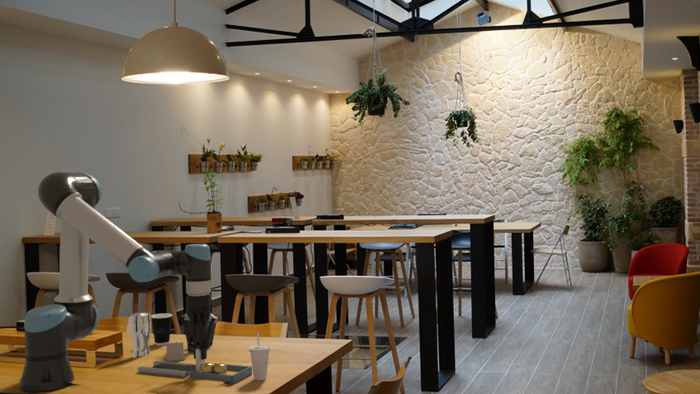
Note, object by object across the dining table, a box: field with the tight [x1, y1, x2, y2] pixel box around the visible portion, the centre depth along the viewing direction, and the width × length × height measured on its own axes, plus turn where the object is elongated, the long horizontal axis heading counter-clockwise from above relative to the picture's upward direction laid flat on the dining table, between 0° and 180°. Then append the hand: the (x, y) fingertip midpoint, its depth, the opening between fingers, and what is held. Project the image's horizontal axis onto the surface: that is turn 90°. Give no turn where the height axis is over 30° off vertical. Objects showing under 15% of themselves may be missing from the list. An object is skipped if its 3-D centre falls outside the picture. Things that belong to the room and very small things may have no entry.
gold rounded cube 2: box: [213, 362, 228, 375], centre depth 205 cm, size 4×4×4 cm
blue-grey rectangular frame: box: [189, 362, 253, 385], centre depth 207 cm, size 11×16×2 cm
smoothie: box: [248, 332, 271, 381], centre depth 204 cm, size 6×6×14 cm
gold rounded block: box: [200, 362, 215, 373], centre depth 206 cm, size 4×4×4 cm
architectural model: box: [165, 341, 189, 362], centre depth 226 cm, size 3×7×7 cm, turn 101°
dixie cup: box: [150, 312, 173, 347], centre depth 253 cm, size 8×8×11 cm
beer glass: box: [129, 312, 152, 359], centre depth 235 cm, size 7×7×15 cm
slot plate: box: [137, 360, 200, 379], centre depth 211 cm, size 9×18×2 cm, turn 68°
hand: (200, 369), depth 207 cm, fingers closed
